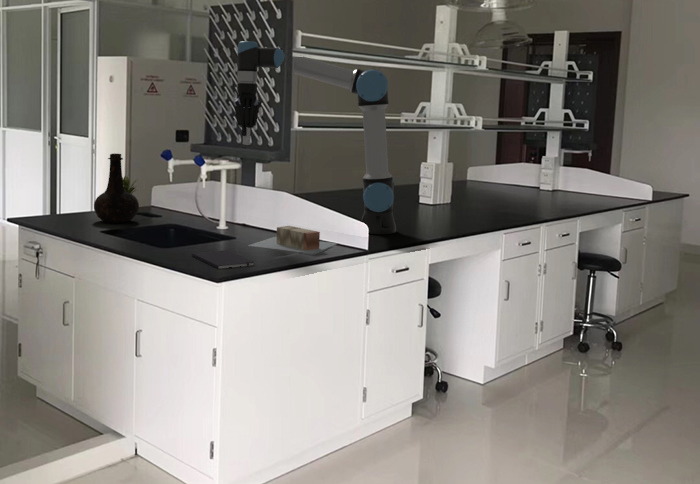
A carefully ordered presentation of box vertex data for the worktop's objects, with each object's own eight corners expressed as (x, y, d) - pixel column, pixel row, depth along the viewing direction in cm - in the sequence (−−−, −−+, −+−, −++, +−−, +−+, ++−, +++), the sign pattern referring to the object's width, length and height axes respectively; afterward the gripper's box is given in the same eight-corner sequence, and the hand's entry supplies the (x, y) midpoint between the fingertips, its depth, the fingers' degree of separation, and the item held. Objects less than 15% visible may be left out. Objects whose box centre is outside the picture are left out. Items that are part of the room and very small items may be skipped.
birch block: (276, 227, 283) (307, 233, 273) (288, 225, 288) (319, 231, 277) (276, 243, 284) (307, 250, 274) (288, 241, 289) (319, 248, 278)
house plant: (102, 207, 357) (101, 172, 354) (130, 205, 366) (129, 171, 363) (117, 211, 347) (117, 175, 344) (145, 209, 356) (145, 174, 353)
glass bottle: (111, 226, 309) (110, 156, 304) (85, 221, 320) (83, 152, 315) (148, 222, 324) (147, 154, 318) (121, 216, 334) (120, 151, 329)
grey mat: (276, 237, 299) (276, 236, 299) (338, 244, 289) (338, 243, 289) (247, 247, 279) (247, 245, 279) (313, 255, 269) (313, 253, 269)
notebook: (191, 257, 261) (218, 270, 243) (191, 253, 260) (218, 265, 243) (226, 254, 268) (254, 266, 250) (226, 250, 267) (254, 262, 250)
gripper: (253, 83, 307) (252, 143, 311) (227, 82, 298) (227, 144, 302) (266, 83, 302) (265, 144, 306) (240, 82, 293) (239, 145, 297)
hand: (246, 144), depth 304 cm, fingers closed
